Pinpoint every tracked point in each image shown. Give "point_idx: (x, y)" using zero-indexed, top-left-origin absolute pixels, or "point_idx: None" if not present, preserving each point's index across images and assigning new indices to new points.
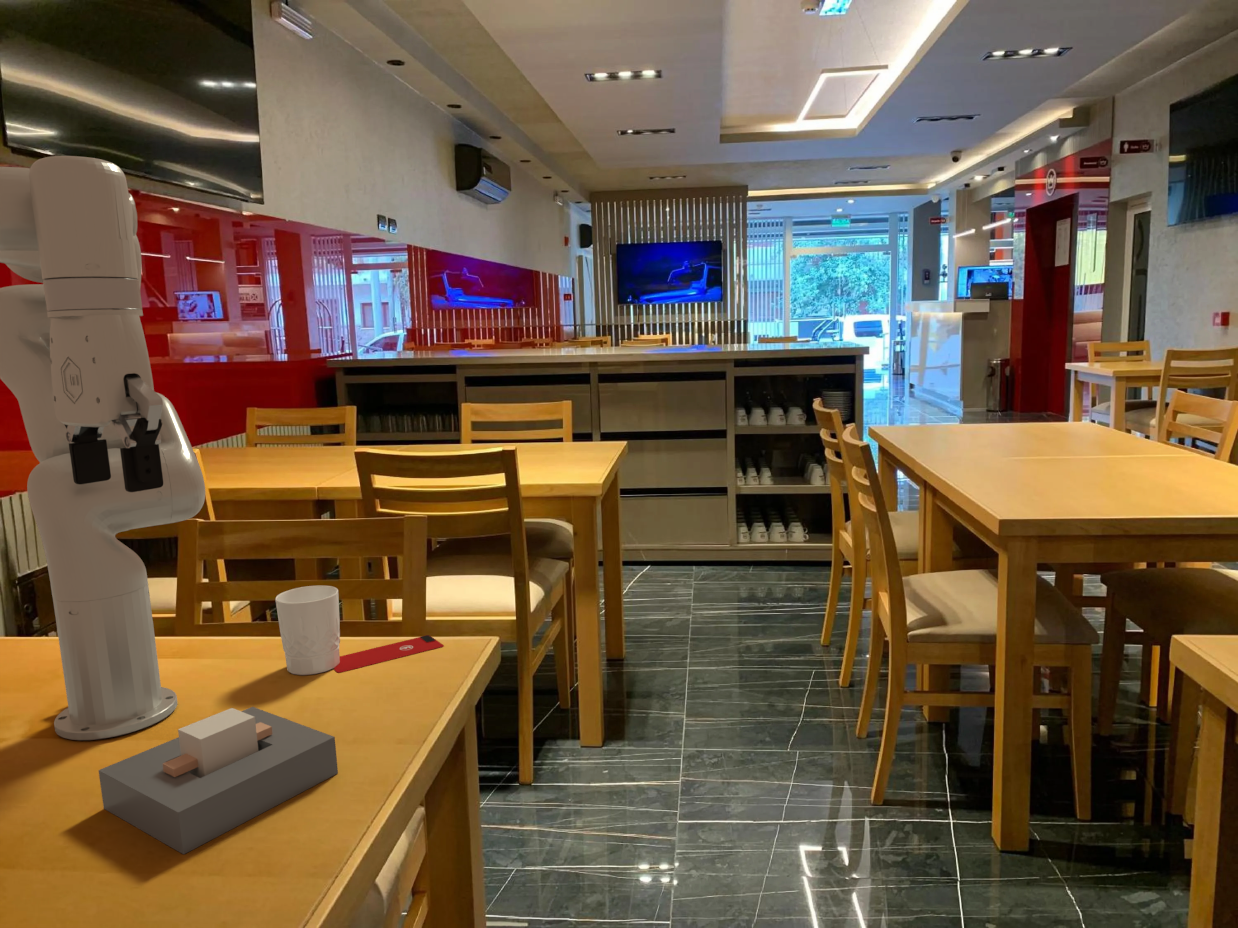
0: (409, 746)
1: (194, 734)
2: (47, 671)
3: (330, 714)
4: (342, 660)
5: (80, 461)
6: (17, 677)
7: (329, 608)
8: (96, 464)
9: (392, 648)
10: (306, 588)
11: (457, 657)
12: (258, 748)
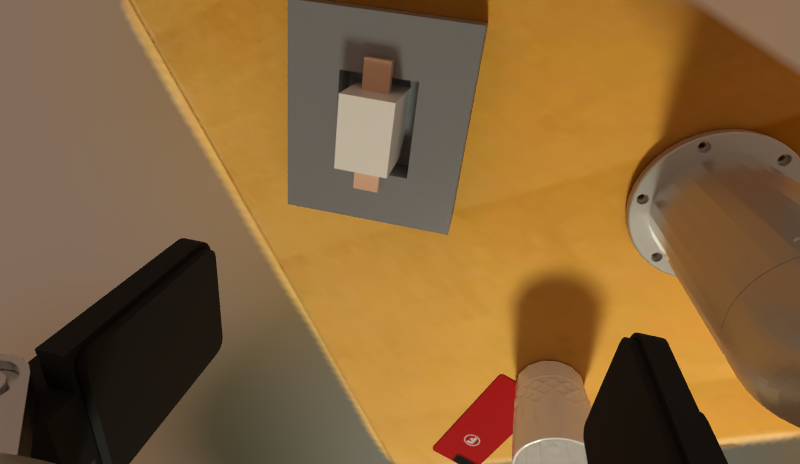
0: (285, 253)
1: (359, 100)
2: None
3: (421, 288)
4: None
5: (642, 428)
6: None
7: (512, 447)
8: (609, 456)
9: (487, 436)
10: None
11: (396, 427)
12: None
